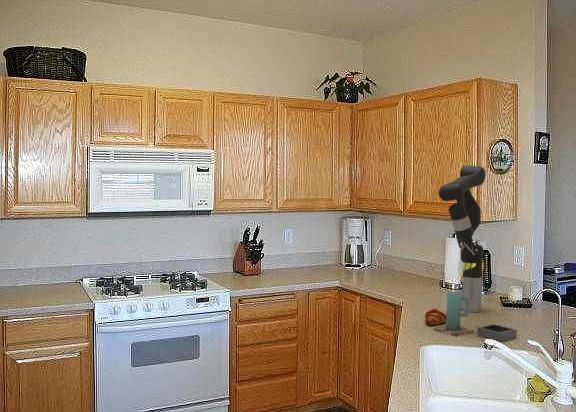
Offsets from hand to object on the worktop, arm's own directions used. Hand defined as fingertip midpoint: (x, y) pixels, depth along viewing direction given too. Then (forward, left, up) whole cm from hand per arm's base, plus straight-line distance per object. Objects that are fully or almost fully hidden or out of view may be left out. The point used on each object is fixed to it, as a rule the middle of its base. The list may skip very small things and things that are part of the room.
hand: (472, 259), depth 251 cm
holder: (+16, -4, -31) cm, 35 cm away
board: (0, -12, -31) cm, 33 cm away
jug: (+1, -11, -30) cm, 32 cm away
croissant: (-15, -5, -31) cm, 35 cm away
